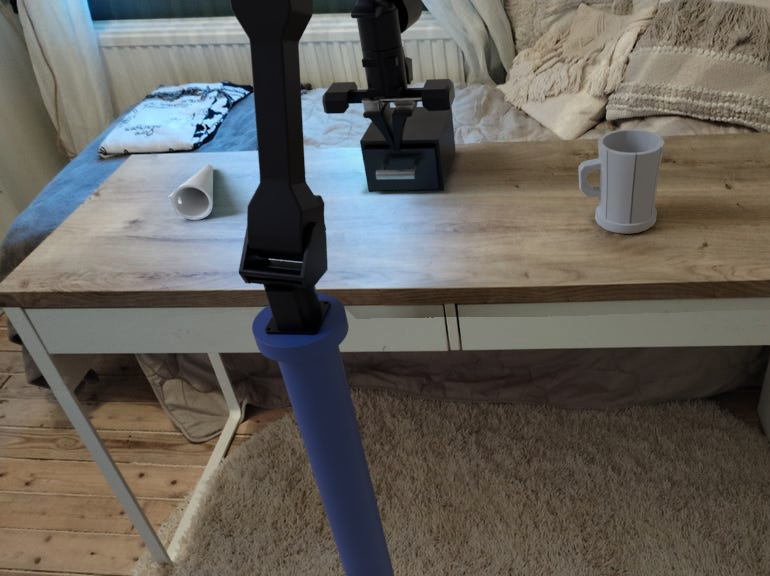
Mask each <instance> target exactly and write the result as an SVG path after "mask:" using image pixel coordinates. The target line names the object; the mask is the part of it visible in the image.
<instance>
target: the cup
mask: <svg viewBox="0 0 770 576" xmlns="http://www.w3.org/2000/svg"><path fill="white" fill-rule="evenodd" d="M597 143H598V144H597V145H598V146H597V147H598V157H597V158H592V159H588V160H584V161H582V162H581V163H580V164H579V165H578V168H577V169H578V187H579V190H580V192H582V193H583V195H585V196H586V197H587V198H598V205H597V206H596V207H595V213H594V214H595V217H594V220H595V222H596V224H597V225H598V226H600V228H602V229H604V230H605V231H608V232H611V233H615V234H620V235H632V234H638V233H642V232H645V231H647V230H649V229H650V228H652V227H653V226H654V225H655V223H656V222H657V215H658V212H657V208H656V206H655V205H656V197H657V189H658V182H659V176H660V170H661V165H662V164H661V163H662V160H663V155H664V149H665V139H664V138H663V136H662V135H660V134H658V133H656V132H652V131H650V130H647V129H646V130H645V129H639V128H624V129H615V130H613V131H608V132H607V133H605V134H602V135H601V137H600V138H598V142H597ZM593 172H598V179H599V185H598V186H592V185H591V184H590V182H589V181H588V179H587V177H588V176H589V175H590V174H591V173H593Z"/></svg>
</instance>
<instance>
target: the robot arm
mask: <svg viewBox="0 0 770 576" xmlns="http://www.w3.org/2000/svg"><path fill="white" fill-rule="evenodd" d="M229 4H230V9H231V12H232V14H233V16H234V17H235V18H236V20H237V22H238V23H239V25H240V27H241V29H242V30H243V31H244V33H245V35H246V36H247V38H248V40H249V49H250V61H251V75H252V89H253V103H254V104H253V105H254V117H255V129H256V131H255V132H256V142H257V143H256V144H257V158H258V170H259V171H258V173H259V183H258V185H257V188H256V189H255V191H254V193H253V195H252V196H251V199H250V201H249V203H248V204H247V207H246V208H247V209H246V212H247V213H246V228H245V234H244V239H243V245H242V252H241V255H240V256H241V257H240V260H239V267H238V275H239V276H240V278H241V279H242V280H243V282H244V283H245V284H255V285H263V289H264V293H265V295H266V299H267V303H268V305H269V306H270V309H271V312H272V315H273V316H272V318H271V319H270V321H269V323H268V325H267V326H266V328H265V332H266V334H276V335H316V334H317V333H318V332H319V330H320V328H321V325H322V323H323V321H324V319H325V317H326V315H327V313H328V310H329V308H330V306H331V304H330V301H319V299H318V295H317V293H318V292H317V287H316V285H317V284H318V282H319V281H320V280H321V279H322V278H323V276H325V274H326V273H327V271H328V243H327V226H326V223H325V222H326V221H325V201H324V198H323V197H322V195H320V194H314V193H313V191H312V189H311V188H310V186H309V185H308V183H307V179H306V163H305V162H306V161H305V141H304V124H303V123H304V122H303V104H302V103H303V101H302V85H301V67H300V66H301V65H300V47H299V46H300V41H301V39H302V36H303V35H304V32H305V31H306V29H307V27H308V25H309V23H310V21H311V19H312V17H313V13H314V11H313V10H314V0H229ZM422 13H423V1H422V0H356V2H355V4H354V5H353V6H352V9H351V11H350V17H351V19H356V23H357V29H358V30H357V31H358V35H359V41H360V47H361V53H362V59H361V65H362V68H364V73H365V78H366V85H367V87H366V89H365V88H364V89H363V88H362V89H360V88H358V85H357V83H356V82H355V81H339V82H332V83H331V84H330V86H329V87H328V88H327V89H326V90H325V92H324V94H323V95H322V98H321V99H322V101H321V102H322V107H323V112H324V113H325V114H326V115H329V114H330V115H331V114H332V115H333V114H334V115H335V114H336V115H337V114H345V113H346V112H347V110H348V109H349V108H350V105H353V104H355V105H356V104H362V106H363V112H362V113H363V114H362V116H363V118H364V119H369V120H370V121H371V122H373V123H374V125H375V126H376V127H377V128H378V130H379V131H380V132H381V134H382V135H383V137H384V138H385V140H386V141H387V143H388V145H389V146H390V148H391V149H392V151H393V152H394V153H399V152H400V149H401V144H402V138H403V133H404V127H405V123H406V120H407V117H411V116H412V115H413V113H414V111H415V109H416V107H418V103H420V102H421V105H422V106H421V107H424V108H425V109H427V110H428V111H446V110H449V109H451V106H453V104H454V101H455V98H456V94H455V93H456V91H455V84H454V82H453V81H452V80H451V79H450V78H437V79H436V78H434V79H433V78H431V79H429V78H428V79H426V80H425V83H424V85H423V86H422V87H408V85H411V83H412V82H413V81H414V71H413V69H414V68H413V58H412V57H408V56H406V53H405V49H404V46H403V41H402V34H403V33H405V32H406V31H407V30H408V29H409V28H411V27H412V26H413V25H415V24H416V23H417V22H418V21H419V19H420V18H421V16H422ZM391 103H393V105H394V106H395V109H394V111H393V113H392V118H391V111H390V108H391Z"/></svg>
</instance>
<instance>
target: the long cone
mask: <svg viewBox="0 0 770 576" xmlns="http://www.w3.org/2000/svg"><path fill="white" fill-rule="evenodd" d="M168 199H169V202H170V204H171V206H172V209H173V211H174V213H175V215H176V217H179V216H180V217H182V218H185V219H187V220H192V221H198V220H203V219H205V218H207V217H208V216H209V215H210V214H211V212H212V210H213V207H214V167H213V165H211V164H207V165H205V166H203V167H201V169H199V170H198V171H197V172H196V173H194V174H193V175H192V176H191V177H189V178H188V179H187V180H185V182H183V183H182V184H180V185H179V186H178V187H177V188H175V190H174V191H173V192H171V193H170V194H169V195H168Z"/></svg>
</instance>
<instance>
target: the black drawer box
mask: <svg viewBox="0 0 770 576" xmlns="http://www.w3.org/2000/svg"><path fill="white" fill-rule="evenodd" d="M452 106H453V105H452ZM452 106H451V109H449V110H446V111H428V110H427V109H425V108H424V107H423V106H417V107H416V109H415V111H414V113H413V115H412V116H411V117H407V120H406V123H405V127H404V133H403V138H402V144H401V145H434V144H435V146H436V154H437V164H438V173H439V183H440V187H439V189H403V190H370V189H369V183H368V177H367V172H366V166H365V160H364V154H363V148H364V147H371V146H382V145H388V143H387V141H386V140H385V138H384V137H383V135H382V134H381V132H380V131H379V130H378V128H377V127H376V126H375V125H374V123H373V122H372V121H371V122H370V123H369V125H368V127H367V129H366V130H365V132H364V133H363V135H362V137H361V139H360V141H359V145H360V150H361V151H360V152H361V157H362V162H363V165H364V166H363V167H364V173H365V178H366V185H367V190H368V192H370V193H375V192H376V193H377V192H379V193H381V192H382V193H383V192H384V193H385V192H444V191H445V189H446V186H447V182H448V180H449V176H450V174H451V171H452V167H453V164H454V161H455V157H456V154H457V151H456V141H455V129H454V115H453V107H452ZM395 107H396V106H395ZM395 107H391V106H390V111H391V118H392V113H393V111H394V109H395Z"/></svg>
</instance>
